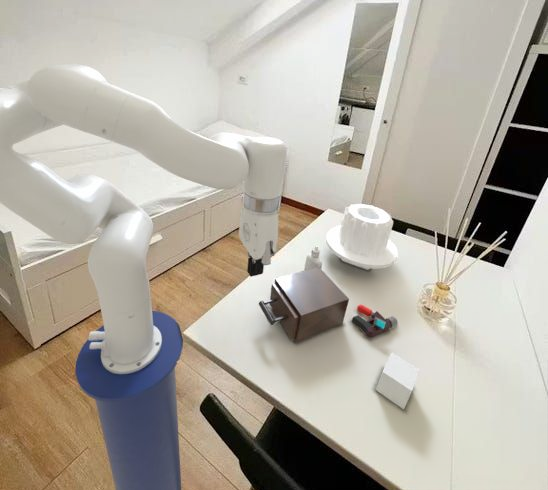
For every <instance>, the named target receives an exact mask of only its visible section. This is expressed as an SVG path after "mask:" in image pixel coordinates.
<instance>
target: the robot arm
mask: <svg viewBox="0 0 548 490" xmlns="http://www.w3.org/2000/svg"><path fill="white" fill-rule="evenodd" d="M163 109H164V108H162V107H161V106H160V105H158V104H157V103H156V102H154V101H152V100H151V99H149V98H146V97H143V96H141V95H138V94H136V93H133V92H131V91H128V90H126V89H124V88H122V87H119V86H117V85H114V84H112V83H109V82H108V80H107V79H106V78H105V76H103V74H101V73H100V72H99V71H98V70H96V69H94V68H93V67H91V66H88V65H85V64H81V63H62V64H50V65H46V66H43V67H41V68H39V69H38V70H36V72H34V73H33V74H32V75H31V77H30V78H29V79H28V80H25V81H21V82H18V83H15V84H11V85H7V86H1V87H0V204H1V205H3V207H5V208H7V209H8V210H9V211H11V212H13V213H14V214H15V215H17V216H19V217H20V218H21V219H22V220H24V221H25V222H27V223H29V224H30V225H32V226H33V227H35V228H36V229H38V230H40V231H41V232H43V233H44V234H45V235H47V236H49V237H51V238H52V239H54V240H55V241H57V242H60V243H62V244H67V245H76V244H79V243H82V242H84V241H86V240H87V239H88V238H90V237H91V236H92V235H93V234H94V232H96V230H97V229H101V232H100V233H99V234H98V236H97V238H96V239H95V241H94V242H93V245H92V246H91V249H90V251H89V254H88V257H87V258H88V259H87V270H88V272H89V275H90V277H91V279H92V281H93V283H94V286H95V290H96V293H97V298H98V302H99V303H98V304H99V307H100V312H101V313H100V314H101V318H102V324H103V325H104V330H105V332H100V331H97V330H94V331H93V330H92V331H90V332H89V334H88V337H87V340H89V341H97V340H103V342H91V344H90V349H101V350H102V351H101V361H102V364H103V366H104V367H105V368H106V369H107V370H108V371H109V372H112V373H115V374H129V373H133V372H136V371H138V370H140V369H142V368H144V367H145V366H147V365H148V364H150V363H151V362H152V361H153V360H154V359H155V357H156V356H157V355H158V353H159V351H160V349H161V345H162V336H161V333H160V331H159V329H158V328H156V327H155V326H154V325H153V315H152V311H153V306H152V295H151V285H150V277H149V274H148V271H147V256H148V252H149V249H150V244H151V242H152V237H153V235H154V222H153V220H152V218H151V216H150V215H149V214H148V213H147V212H146V211H145V210H144V209H143V208H142V207H141V206H140V205H138V204H137V203H136V202H135V201H134V200H132V199H131V198H130V197H129V196H128V195H127V194H125V193H124V192H123V191H121V190H120V189H119V188H118V187H117V186H116V185H114V184H113V183H112V182H110V181H109V180H107V179H105V178H103V177H101V176H98V175H95V174H92V173H91V174H89V173H81V174H76V175H73V176H71V177H69V178H68V179H67V180H66V179H64V178H63V177H61V176H60V175H58V174H57V173H56V172H55V171H54V170H53V169H51V168H50V167H49V166H48V165H46V164H44V163H42V162H41V161H39V160H37V159H34V158H33V157H30V156H27V155H25V154H22V153H19V152H17V151H16V150H14V148H13V146H14V145H15V144H19V143H21V142H23V141H25V140H28V139H29V138H32V137H34V136H36V135H38V134H41V133H43V132H44V133H45V132H46V131H49V130H52V129H54V128H57V127H60V126H63V125H64V126H67V127H69V128H73V129H76V130H79V131H81V132H84V133H86V134H90V135H94V136H96V137H99V138H102V139H104V140H107V141H110V142H113V143H114V144H118V145H121V146H124V147H127V148H130V149H132V150H134V151H136V152H137V153H139V154H141V155H142V156H143V157H144V158H146V159H148V160H149V161H150V162H152V163H154V164H155V165H157V166H159V167H160V168H162V169H163V170H165V171H166V172H168V173H171V174H172V175H174V176H176V177H179V178H181V179H184V180H187V181H189V182H192V183H195V184H199V185H201V186H204V187H207V188H212V189H216V190H232V189H235V188H238V187H239V186H241V185H242V184H243V195H242V206H241V211H240V216H239V217H240V218H239V226H238V238H239V240H240V242H241V243H242V245H243V247H244V248H245V249H246V251H247V256H248V258H247V270H246V271H247V273H248V275H249V277H250V278H251V277H255V276H256V277H257V276H260V275H262V274H264V269H265V266H269V265H271V264H272V259H271V258H272V257H274V256H276V254H277V249H278V240H279V211H280V209H281V201H282V193H283V184H284V175H285V169H286V161H287V150H288V149H287V145H286V142H284V141H282V140H281V139H279V138H276V137H271V136H255V137H254V136H246V135H242V134H238V133H232V132H226V131H225V132H217V133H214V134H212V135H211V136H209V137H208V138H207V137H205V136H203V135H200V134H198V133H196V132H194V131H191V130H189V129H187V128H186V127H184V126H182V125H181V124H179V123H178V122H176V121H175V120H174V119H173V118H171V117H170V116H169V115H168V114H167V112H166V111H165V110H163ZM271 256H272V257H271Z"/></svg>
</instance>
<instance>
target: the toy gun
mask: <svg viewBox="0 0 548 490" xmlns="http://www.w3.org/2000/svg"><path fill="white" fill-rule="evenodd" d="M356 309H357V311H358V312H359V313H360V314H362V315H363V316H366V317H367V318H370V319H368V320H365V319H364V318H363V317H362V316H360V315H354V316H352V319H351V323H352V324H353V325H354V326H356V327H357V328H359V330H361V331H362V332H363V333H364V335H365V336H366V338H369V339H373V338H374V337H377V336H379V335H381V334H384V333H386V332H388V331H390V329H392V328H395V327H397V326H398V325H399V324H398V322H399V321H398V319H397V318H396V317H395V316H394V315H391V316H389V317H387V318H385V317H384V316H383V315H382V314H381V313H380V312H379V311H378V310H377V311H373V309H370V308H369V307H366V305H363V304H358V305H357V307H356Z"/></svg>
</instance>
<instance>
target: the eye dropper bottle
mask: <svg viewBox="0 0 548 490" xmlns="http://www.w3.org/2000/svg"><path fill="white" fill-rule="evenodd" d="M320 253H321V249H320V248H319V246H318V245H315V247H313V248H312V249H311V252H309V253H307V254H306V258H305V264H304V269H303V271H305V270H309V269H313V268H317V267H320V269H321V270H322V267H323V261H322V259H321V256H320Z"/></svg>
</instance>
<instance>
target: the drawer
mask: <svg viewBox="0 0 548 490" xmlns="http://www.w3.org/2000/svg"><path fill="white" fill-rule="evenodd" d="M269 297H270V298H269V299H268V300H265V301H264V300H260V301H259V302H258V306H259V308H260V309H261V311H262V313H263V314H264V316H265V318H266V320H267V321H268V323H269V325H270V326H274V325H275V324H276V323H279V322H280V323H281V326H282V328H283V329H284V330H285V332H286V334H287V335H288V337H289V338H290V340H294V339H295V338H296V332H297V327H298V321H299V315H298V314H297V313H296V311H295V310H294V308H293V307H292V305H291V304H290V302H289V301H288V300H287V298H286V296H285V295H284V293H283V292H282V290H281V289H280V288H279V287H278V285H277V284H276V283H275V282H273V283H271V288H270V296H269ZM267 305H269V306H270V308H271V309H272V311H273V312H274V314H275V316H276V317H277V318H274V316H273V315H272V313H271V312H270V310H269V308H268V306H267Z"/></svg>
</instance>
